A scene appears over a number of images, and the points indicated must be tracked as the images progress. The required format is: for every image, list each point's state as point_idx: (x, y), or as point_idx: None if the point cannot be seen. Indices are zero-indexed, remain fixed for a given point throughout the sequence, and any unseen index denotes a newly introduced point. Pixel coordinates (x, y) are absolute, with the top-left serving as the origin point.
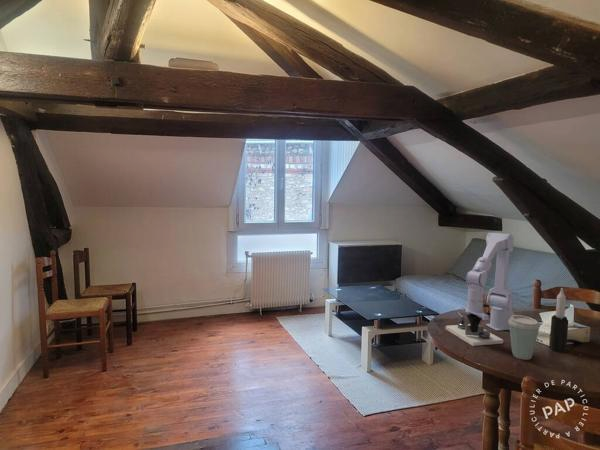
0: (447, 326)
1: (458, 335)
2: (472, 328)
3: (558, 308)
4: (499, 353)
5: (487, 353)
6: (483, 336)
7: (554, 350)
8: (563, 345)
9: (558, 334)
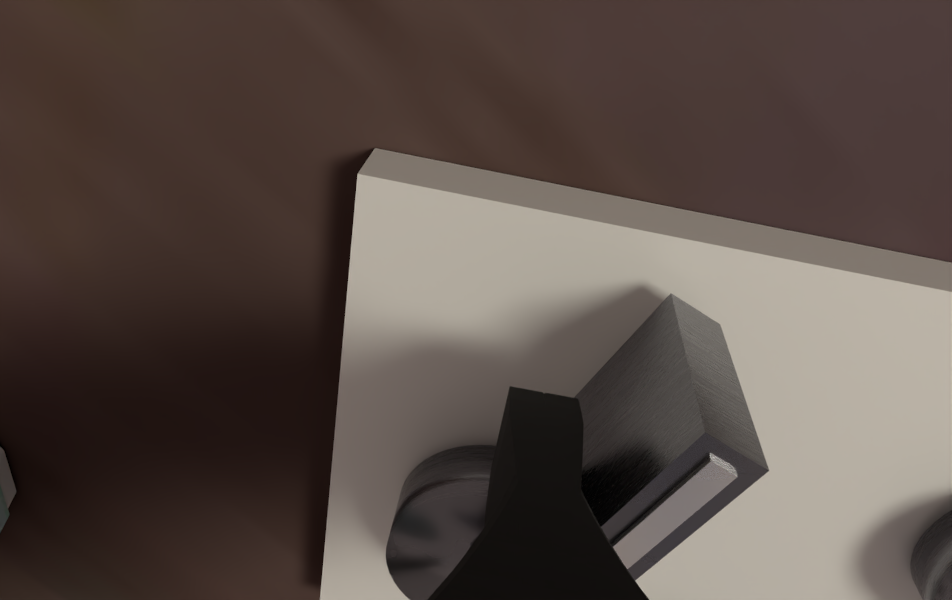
0: None
1: (857, 256)
2: (512, 443)
3: None
4: (15, 291)
5: (23, 121)
6: (427, 478)
7: None
8: None
9: None
